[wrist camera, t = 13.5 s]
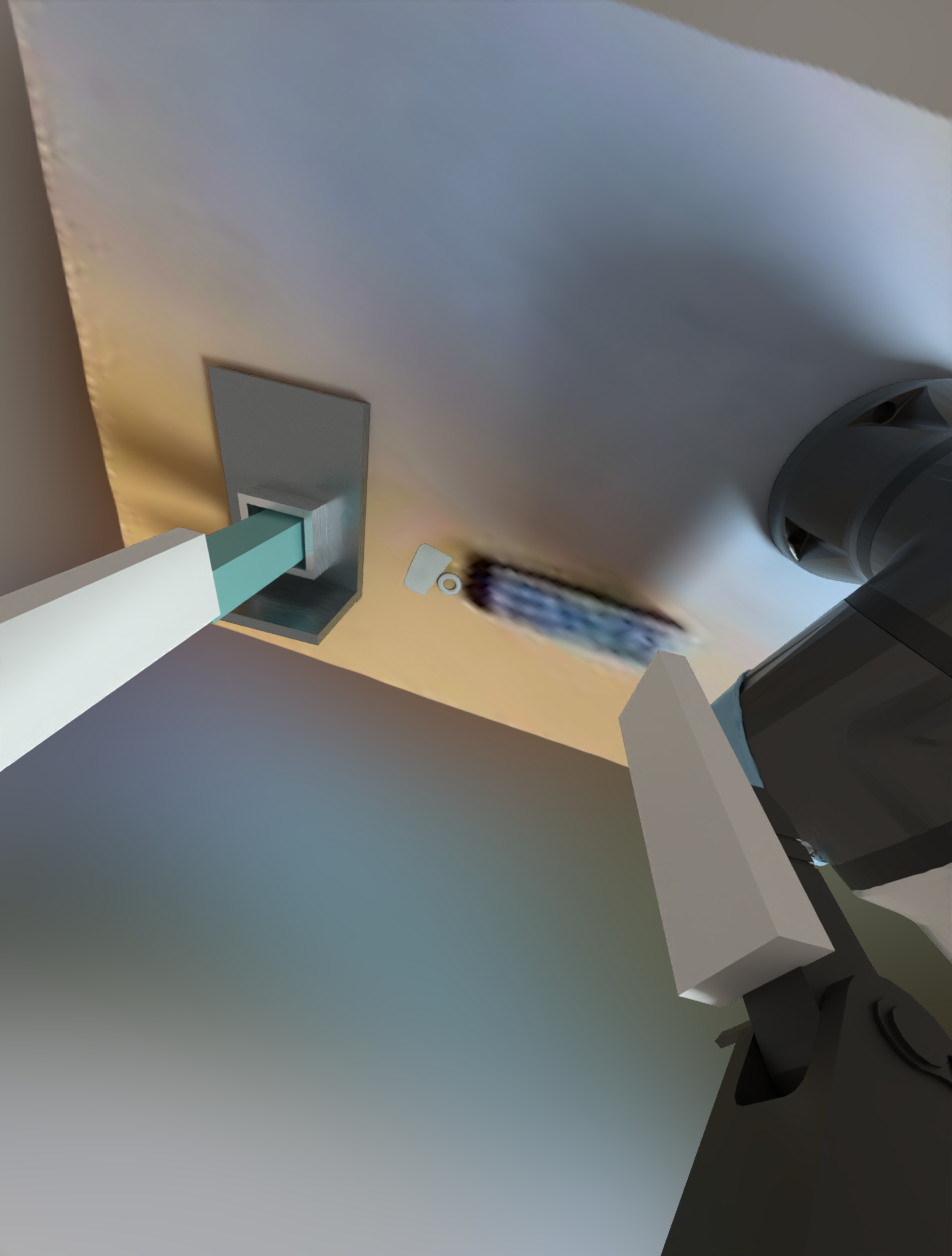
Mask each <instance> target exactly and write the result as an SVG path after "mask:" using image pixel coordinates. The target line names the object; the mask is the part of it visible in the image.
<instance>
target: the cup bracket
mask: <svg viewBox="0 0 952 1256" xmlns="http://www.w3.org/2000/svg"><path fill="white" fill-rule="evenodd" d="M208 371H209V377H210V384H211V390H212V397H213V403H214V410H215V416H216V423H217V429H218V436H219V442H220V449H221V455H222V462H223V469H224V475H225V482H226V488H227V495H228V501H229V508H230V514H231V521H232V524H235V523H237V522H239V521H241V520H243V519H246V518H248V517H250V516H252V515H255V514H257V513H259V512H261V511H263V510H266V509H271V510H275V511H279V512H283V513H287V514H291V515H295V516H299V517H303V518H304V531H305V553H306V557H305V558H304V559H302V560H301V561H300V562H298V563H297V564H295V565H294V566H293V567H291V568H290V569H289V570H287V571H286V572H284V573H283V574H282V575H280V576H279V577H278V578H276V579H275V580H273V581H272V582H271V583H269V584H268V585H266V586H265V587H264V588H262V589H261V590H260V591H258V592H257V593H255V594H254V595H253V596H251V597H250V598H249V599H247V600H246V601H244V602H243V603H242V604H240V605H239V606H237V607H236V608H235V609H233V610H232V611H231V612H229V613H228V614H226V615H225V616H224V617H222V618H221V619H220V620H222V621H226V622H230V623H233V624H237V625H241V626H245V627H249V628H253V629H256V630H260V631H264V632H268V633H272V634H276V635H280V636H283V637H287V638H291V639H295V640H299V641H303V642H306V643H310V644H314V645H319V644H320V643H321V641H322V640H323V639H324V638H325V637H326V636H327V635H328V633H329V632H330V631H331V630H332V629H333V628H334V626H335V625H336V624H337V623H338V622H339V621H340V620H341V618H342V617H343V616H344V615H345V614H346V613H347V612H348V610H349V609H350V608H351V607H352V606H353V605H354V603H355V602H357V601H358V600H359V599H360V598H361V597H362V585H363V562H364V539H365V516H366V493H367V470H368V448H369V425H370V404H369V403H365V402H361V401H357V400H353V399H349V398H345V397H341V396H337V395H333V394H329V393H325V392H321V391H317V390H313V389H309V388H305V387H301V386H297V385H293V384H289V383H285V382H281V381H277V380H273V379H269V378H265V377H260V376H256V375H252V374H248V373H244V372H240V371H236V370H232V369H228V368H224V367H220V366H208Z"/></svg>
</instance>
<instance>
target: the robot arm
mask: <svg viewBox="0 0 952 1256" xmlns="http://www.w3.org/2000/svg"><path fill="white" fill-rule="evenodd" d="M768 524H769V529H770V533H771V536H772V538H773V541H774V542H775V544H776V546H777V547H778V549H779V550H780V551H781V552H782V553H783V554H784V555H785V556H786V557H787V558H789V559H790V560H791V561H793V562H794V563H795V564H797V565H798V566H800V567H801V568H803V569H804V570H806V571H808V572H810V573H812V574H814V575H817V576H820V577H823V578H826V579H830V580H836V581H841V582H847V583H853V584H859V585H862V586H861V587H860V588H858V589H857V590H856V591H855V592H853V593H852V594H851V595H849V596H848V597H847V598H845V599H844V600H842V601H841V602H839V603H838V604H837V605H836V606H834V607H833V608H832V609H830V610H829V611H828V612H826V613H825V614H824V615H823V616H821V617H820V618H819V619H817V620H816V621H815V622H813V623H812V624H811V625H810V626H808V627H807V628H806V629H804V630H803V631H802V632H800V633H799V634H798V635H797V636H795V637H794V638H793V639H791V640H790V641H789V642H787V643H786V644H785V645H784V646H782V647H781V648H780V649H778V650H777V651H776V652H774V653H773V654H772V655H771V656H769V657H768V658H767V659H765V660H764V661H763V662H761V663H760V664H759V665H758V666H756V667H755V668H754V669H752V670H750V669H749V670H747V671H745V672H744V673H742V674H741V675H740V676H739V678H738V679H737V681H736V683H735V684H733V685H732V686H731V687H730V688H729V689H728V690H727V691H725V692H724V693H723V694H722V695H721V696H720V697H719V698H717V699H716V700H715V701H714V702H713V703H712V704H711V705H710V704H709V702H708V700H707V698H706V696H705V694H704V692H703V690H702V688H701V686H700V684H699V682H698V681H697V679H696V677H695V675H694V673H693V671H692V669H691V667H690V665H689V663H688V661H687V659H686V657H685V656H681V655H677V654H673V653H669V652H665V651H661V650H658V651H657V653H656V655H655V656H654V658H653V660H652V661H651V663H650V665H649V667H648V668H647V670H646V672H645V673H644V675H643V677H642V678H641V680H640V682H639V684H638V685H637V687H636V689H635V690H634V692H633V694H632V696H631V697H630V699H629V701H628V702H627V704H626V706H625V707H624V709H623V711H622V713H621V714H620V716H619V718H618V719H619V723H620V728H621V732H622V737H623V742H624V746H625V751H626V756H627V760H628V765H629V769H630V774H631V779H632V783H633V787H634V792H635V797H636V802H637V806H638V811H639V815H640V820H641V825H642V830H643V834H644V839H645V843H646V848H647V853H648V857H649V861H650V867H651V871H652V875H653V880H654V885H655V889H656V894H657V899H658V903H659V908H660V912H661V917H662V922H663V927H664V931H665V936H666V940H667V945H668V950H669V954H670V959H671V963H672V968H673V973H674V977H675V982H676V987H677V991H678V996H682V997H685V998H689V999H693V1000H696V1001H700V1002H704V1003H707V1004H711V1005H715V1006H718V1007H724V1006H726V1005H728V1004H730V1003H732V1002H734V1001H736V1000H738V999H740V998H742V997H743V999H744V1002H745V1005H746V1008H747V1011H748V1014H749V1018H750V1020H749V1021H746V1022H744V1023H742V1024H739V1025H737V1026H735V1027H733V1028H731V1029H728V1030H726V1031H723V1032H722V1033H721V1034H720V1035H719V1037H718V1038H717V1039H716V1040H715V1042H716V1043H717V1044H718V1045H719V1046H720V1048H723V1047H726V1046H729V1045H731V1044H734V1043H736V1044H735V1046H734V1049H733V1052H732V1055H731V1058H730V1061H729V1063H728V1066H727V1069H726V1072H725V1075H724V1077H723V1080H722V1083H721V1086H720V1089H719V1092H718V1094H717V1098H716V1100H715V1103H714V1106H713V1109H712V1111H711V1114H710V1117H709V1120H708V1123H707V1126H706V1129H705V1131H704V1134H703V1137H702V1140H701V1143H700V1146H699V1148H698V1151H697V1154H696V1157H695V1160H694V1163H693V1166H692V1168H691V1171H690V1174H689V1177H688V1180H687V1182H686V1185H685V1188H684V1191H683V1194H682V1197H681V1199H680V1202H679V1205H678V1208H677V1211H676V1214H675V1217H674V1220H673V1223H672V1225H671V1228H670V1231H669V1234H668V1237H667V1239H666V1242H665V1245H664V1248H663V1251H662V1253H661V1256H952V1040H951V1039H950V1038H949V1037H948V1035H947V1034H946V1033H945V1031H944V1030H943V1029H942V1028H941V1026H940V1025H939V1024H938V1022H937V1021H936V1020H935V1018H934V1017H933V1016H931V1014H930V1013H928V1011H926V1010H925V1009H924V1008H923V1007H922V1006H921V1005H920V1004H919V1003H918V1002H917V1001H916V1000H915V999H914V998H913V997H912V996H911V995H910V994H908V993H907V992H906V991H904V990H902V989H901V988H900V987H898V986H897V985H895V984H894V983H893V982H891V981H890V980H888V979H886V978H883V977H881V976H879V975H878V974H877V972H876V971H875V969H874V967H873V966H872V964H871V963H870V961H869V959H868V957H867V956H866V954H865V952H864V950H863V948H862V947H861V945H860V943H859V941H858V940H857V938H856V936H855V934H854V932H853V931H852V929H851V927H850V925H849V924H848V922H847V920H846V918H845V916H844V915H843V913H842V911H841V909H840V907H839V906H838V904H837V902H836V900H835V898H834V897H833V895H832V893H831V891H830V890H829V888H828V886H827V884H826V882H825V881H824V879H823V877H822V875H821V873H820V872H819V870H818V869H816V868H815V867H814V865H818V866H823V865H826V864H828V863H829V864H830V865H831V866H832V868H833V869H834V870H835V871H836V872H837V874H838V875H839V876H840V877H841V878H842V880H843V881H844V882H845V883H846V885H847V886H848V887H849V888H850V890H852V892H853V893H854V894H855V895H856V896H857V897H860V898H862V899H864V900H867V901H870V902H872V903H875V904H877V905H880V906H882V907H885V908H887V909H890V910H893V911H895V912H897V913H900V914H902V915H904V916H906V917H907V918H909V919H911V920H913V921H914V922H916V923H917V924H918V925H919V927H920V928H921V929H922V930H923V931H924V932H925V933H926V935H927V936H928V937H929V938H930V939H931V940H932V941H933V942H934V944H935V945H936V946H937V947H938V948H939V949H940V950H941V951H942V953H943V954H944V955H945V956H946V957H947V958H948V959H949V961H950V962H951V963H952V378H944V379H917V380H910V381H905V382H900V383H896V384H893V385H889V386H886V387H883V388H880V389H878V390H875V391H873V392H870V393H868V394H866V395H864V396H862V397H860V398H858V399H856V400H854V401H852V402H851V403H849V404H847V405H846V406H844V407H842V408H841V409H839V410H838V411H836V412H835V413H833V414H832V415H831V416H829V417H828V418H827V419H825V420H824V421H823V422H822V423H821V424H819V425H818V426H817V427H816V428H815V429H814V430H813V431H812V432H811V433H810V434H809V435H808V436H807V437H806V438H805V439H804V440H803V441H802V442H801V443H800V444H799V445H798V447H797V448H796V449H795V450H794V452H793V453H792V454H791V456H790V457H789V458H788V460H787V461H786V463H785V464H784V466H783V468H782V470H781V471H780V473H779V475H778V477H777V479H776V482H775V484H774V487H773V490H772V493H771V497H770V501H769V507H768ZM219 615H221V614H220V609H219V604H218V599H217V594H216V588H215V583H214V578H213V573H212V568H211V563H210V558H209V553H208V548H207V543H206V538H205V534H204V533H200V532H196V531H193V530H189V529H185V528H181V527H178V528H175V529H172V530H170V531H167V532H165V533H162V534H160V535H157V536H155V537H152V538H149V539H147V540H144V541H142V542H139V543H137V544H134V545H132V546H129V547H127V548H124V549H121V550H119V551H116V552H114V553H111V554H109V555H106V556H104V557H101V558H98V559H96V560H93V561H91V562H88V563H86V564H83V565H81V566H78V567H75V568H73V569H70V570H68V571H65V572H63V573H60V574H58V575H55V576H53V577H50V578H47V579H45V580H43V581H40V582H37V583H35V584H32V585H30V586H27V587H24V588H22V589H20V590H17V591H14V592H12V593H9V594H7V595H4V596H2V597H0V771H2V770H3V769H4V768H6V767H7V766H9V765H10V764H11V763H13V762H14V761H16V760H17V759H19V758H20V757H21V756H23V755H24V754H25V753H27V752H28V751H30V750H31V749H33V748H34V747H35V746H37V745H38V744H40V743H41V742H42V741H44V740H45V739H47V738H48V737H49V736H51V735H52V734H54V733H55V732H56V731H58V730H59V729H61V728H62V727H63V726H65V725H66V724H68V723H69V722H70V721H72V720H73V719H75V718H76V717H77V716H79V715H80V714H82V713H83V712H85V711H86V710H87V709H89V708H90V707H92V706H93V705H94V704H96V703H97V702H99V701H100V700H101V699H103V698H104V697H106V696H107V695H108V694H110V693H111V692H112V691H114V690H115V689H117V688H118V687H120V686H121V685H122V684H124V683H125V682H127V681H128V680H129V679H131V678H132V677H134V676H135V675H136V674H138V673H139V672H141V671H142V670H144V669H145V668H146V667H148V666H149V665H151V664H152V663H153V662H155V661H156V660H157V659H159V658H160V657H162V656H163V655H165V654H166V653H167V652H169V651H170V650H172V649H173V648H174V647H176V646H177V645H179V644H180V643H181V642H183V641H184V640H186V639H187V638H189V637H190V636H191V635H193V634H194V633H196V632H197V631H198V630H200V629H201V628H203V627H204V626H205V625H207V624H208V623H210V622H211V621H212V620H214V619H215V618H217V617H218V616H219Z"/></svg>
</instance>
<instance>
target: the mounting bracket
mask: <svg viewBox="0 0 952 1256" xmlns="http://www.w3.org/2000/svg"><path fill="white" fill-rule="evenodd" d="M452 559H453V558H452V557H450V556H448V555H446V554H444V553H442V552H440V551H439V550H437V549H435V548H433V547H431V546H429V545H427V544H423V545H421V546H420V547H419V548H418V550H417V552H416V555H415V557H414V559H413V561H412V564H411V566H410V568H409V570H408V573H407V575H406V577H405V580H404V583H405V586H406V587H407V588H409V589H411V590H413V591H415V592H417V593H419V594H421V595H423V596H424V595H425V594H426V593H427V591H428V590H429V589H430V587H431V586H432V585H433V584H434V582H435V581H436V580H437V578H438V577H439V576H440V575H441V573H442V572H443V571H444V569H445V568H446V567H447V566H448V564H449V563H450V562H451V560H452ZM447 579H452V580H453V581H455V583H456V587H455V588H454V589H453V590H449V589H447V588H446V587H445V586H444V581H445V580H447ZM438 586H439V589H440V590H441V591H442V592H443V593H444V594H446V595H455V594H457V593H459V592H460V591H461V589H462V581H461V579H460V578H459V577H458V576H457V575H456V574H454V573H444V574H442V575H441V576H440V577H439V579H438Z"/></svg>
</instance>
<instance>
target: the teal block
mask: <svg viewBox="0 0 952 1256" xmlns="http://www.w3.org/2000/svg"><path fill="white" fill-rule="evenodd" d="M205 538H206V543H207V548H208V553H209V558H210V563H211V568H212V573H213V578H214V583H215V588H216V594H217V599H218V604H219V609H220V614H221V615H219V616H218V617H217V618H215V619H214V620H212V621H211V622H210V623H213V624H214V623H215V622H217V621H218V620H220V619H221V618H222V617H224V616H225V615H226V614H228V613H229V612H231V611H232V610H233V609H235V608H236V607H237V606H239V605H240V604H242V603H243V602H244V601H246V600H247V599H249V598H250V597H251V596H253V595H254V594H255V593H257V592H258V591H260V590H261V589H262V588H264V587H265V586H266V585H268V584H269V583H271V582H272V581H273V580H275V579H276V578H278V577H279V576H280V575H282V574H283V573H284V572H286V571H287V570H289V569H290V568H291V567H293V566H294V565H295V564H297V563H298V562H300V561H301V560H302V559H304V558H305V557H306V553H305V531H304V518H303V517H299V516H295V515H291V514H287V513H283V512H279V511H275V510H271V509H266V510H263V511H261V512H259V513H257V514H255V515H252V516H250V517H248V518H246V519H243V520H241V521H239V522H237V523H235V524H232V525H230V526H228V527H226V528H223V529H221V530H219V531H217V532H215V533H212V534H210V535H208V536H206V537H205Z"/></svg>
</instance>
